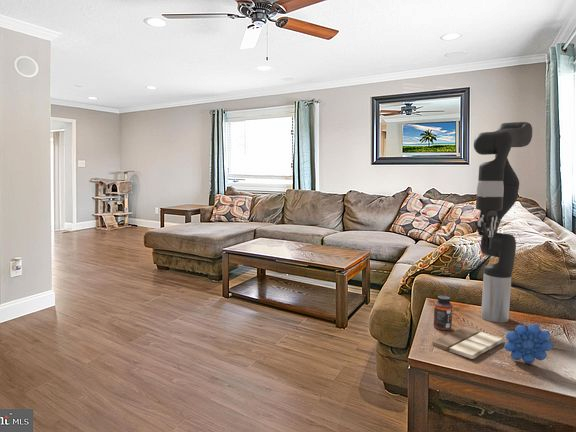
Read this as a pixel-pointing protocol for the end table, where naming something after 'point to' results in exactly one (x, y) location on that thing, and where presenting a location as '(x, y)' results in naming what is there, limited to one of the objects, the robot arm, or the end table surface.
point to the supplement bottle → (443, 313)
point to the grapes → (528, 343)
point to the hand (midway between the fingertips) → (486, 248)
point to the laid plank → (454, 338)
